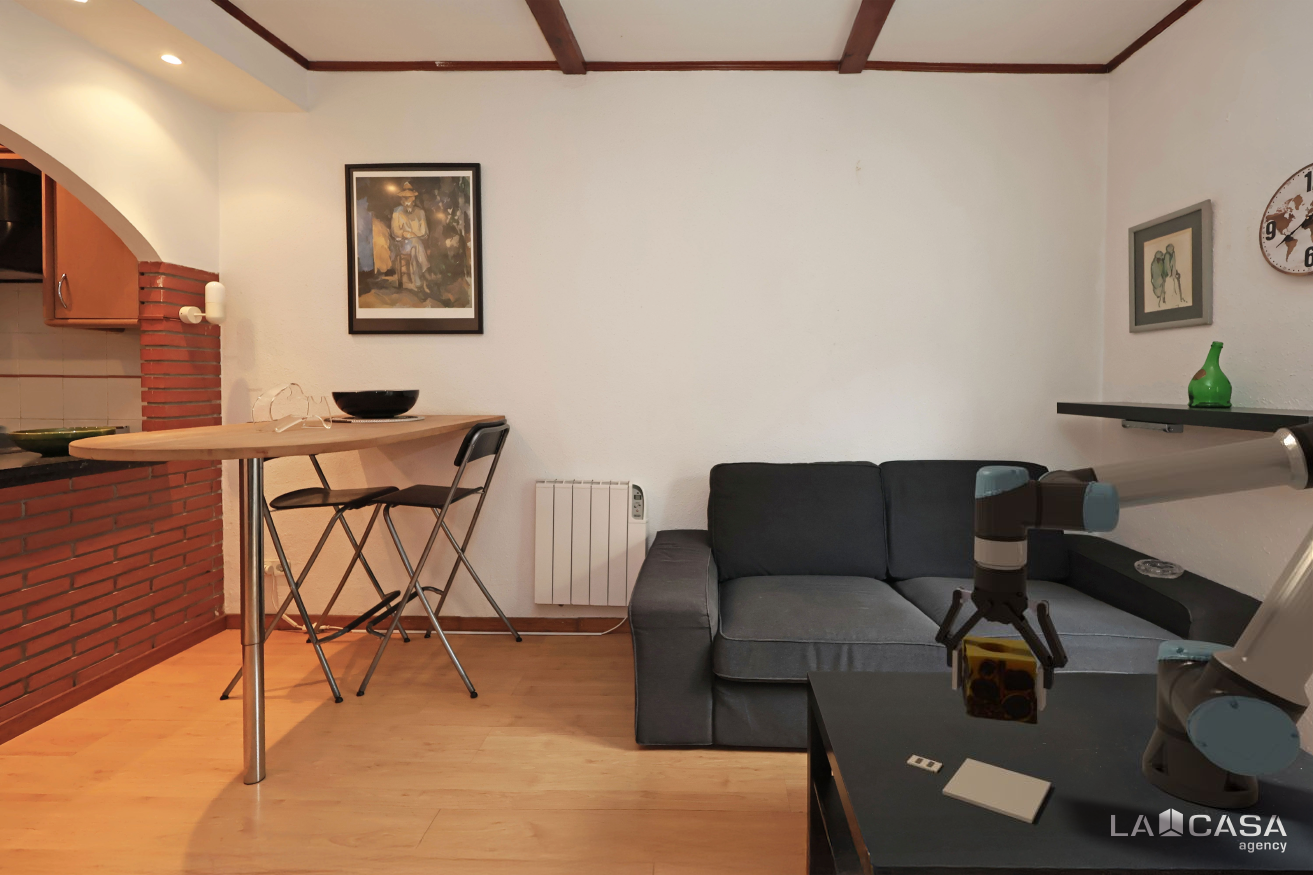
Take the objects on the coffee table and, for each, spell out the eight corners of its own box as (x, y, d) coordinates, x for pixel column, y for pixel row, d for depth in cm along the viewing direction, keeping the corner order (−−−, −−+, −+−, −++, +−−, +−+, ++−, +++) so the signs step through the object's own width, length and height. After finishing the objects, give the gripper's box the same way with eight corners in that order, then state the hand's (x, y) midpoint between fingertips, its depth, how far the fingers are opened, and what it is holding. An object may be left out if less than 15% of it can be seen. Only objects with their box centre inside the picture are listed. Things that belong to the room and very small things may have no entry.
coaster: (1050, 785, 119) (1050, 782, 119) (1031, 823, 109) (1031, 819, 109) (967, 761, 127) (967, 757, 127) (942, 793, 117) (942, 790, 117)
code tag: (942, 765, 126) (942, 763, 126) (936, 772, 124) (936, 770, 124) (913, 756, 129) (913, 754, 129) (907, 763, 127) (907, 761, 127)
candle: (1038, 726, 111) (1039, 662, 110) (966, 717, 114) (967, 655, 114) (1026, 699, 121) (1028, 639, 120) (960, 691, 124) (961, 634, 123)
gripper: (1091, 570, 111) (1088, 708, 112) (931, 549, 126) (929, 671, 128) (1082, 580, 105) (1079, 726, 107) (915, 557, 121) (914, 685, 122)
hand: (997, 696), depth 117 cm, fingers closed on candle, 12 cm apart
